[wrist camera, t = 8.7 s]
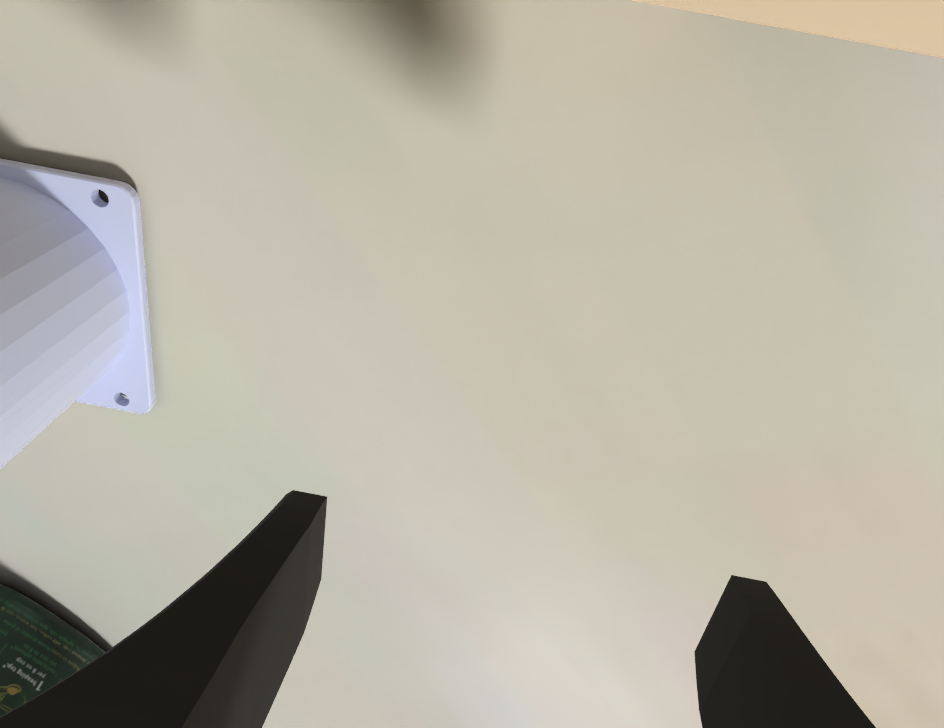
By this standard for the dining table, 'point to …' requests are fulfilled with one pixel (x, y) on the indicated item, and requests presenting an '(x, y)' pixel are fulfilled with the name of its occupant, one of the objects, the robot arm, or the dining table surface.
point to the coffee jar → (36, 649)
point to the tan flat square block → (839, 19)
